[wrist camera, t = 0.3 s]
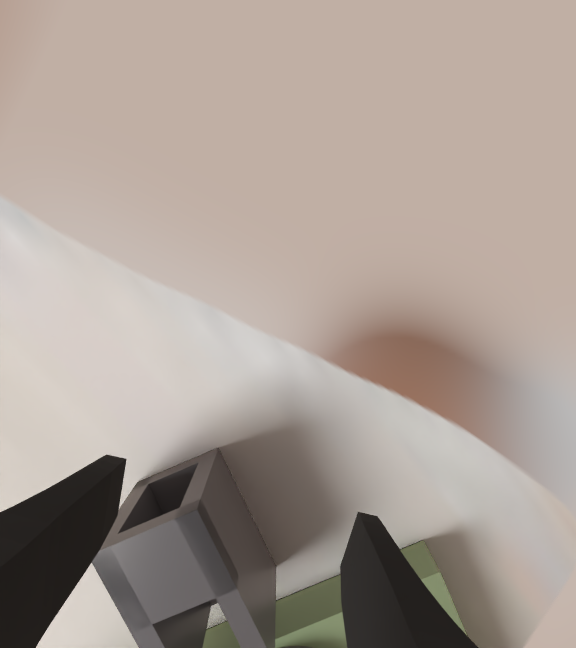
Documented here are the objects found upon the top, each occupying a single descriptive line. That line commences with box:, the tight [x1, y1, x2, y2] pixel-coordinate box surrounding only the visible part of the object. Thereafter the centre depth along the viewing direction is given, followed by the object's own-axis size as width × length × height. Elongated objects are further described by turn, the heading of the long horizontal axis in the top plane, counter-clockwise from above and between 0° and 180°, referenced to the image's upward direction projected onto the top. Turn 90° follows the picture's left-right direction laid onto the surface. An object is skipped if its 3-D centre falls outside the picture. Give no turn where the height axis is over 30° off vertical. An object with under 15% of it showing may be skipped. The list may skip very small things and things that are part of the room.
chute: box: [92, 448, 276, 648], centre depth 20 cm, size 5×8×6 cm, turn 23°
